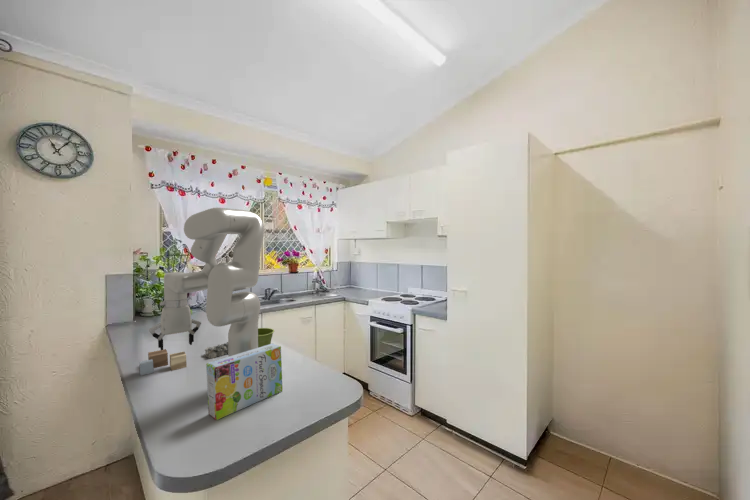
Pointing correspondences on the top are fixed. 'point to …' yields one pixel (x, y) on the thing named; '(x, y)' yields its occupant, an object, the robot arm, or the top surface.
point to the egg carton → (217, 350)
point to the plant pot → (264, 336)
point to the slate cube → (146, 367)
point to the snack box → (243, 379)
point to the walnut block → (158, 358)
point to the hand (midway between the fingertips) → (176, 346)
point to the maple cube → (178, 361)
